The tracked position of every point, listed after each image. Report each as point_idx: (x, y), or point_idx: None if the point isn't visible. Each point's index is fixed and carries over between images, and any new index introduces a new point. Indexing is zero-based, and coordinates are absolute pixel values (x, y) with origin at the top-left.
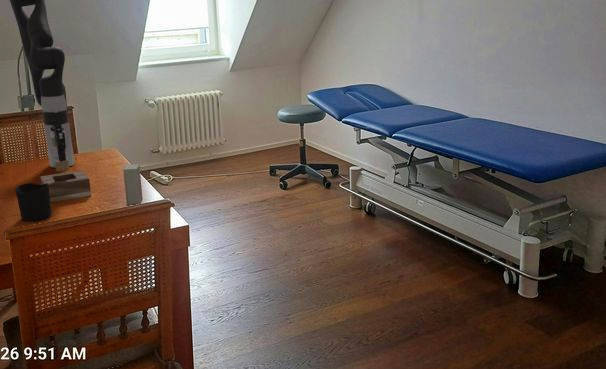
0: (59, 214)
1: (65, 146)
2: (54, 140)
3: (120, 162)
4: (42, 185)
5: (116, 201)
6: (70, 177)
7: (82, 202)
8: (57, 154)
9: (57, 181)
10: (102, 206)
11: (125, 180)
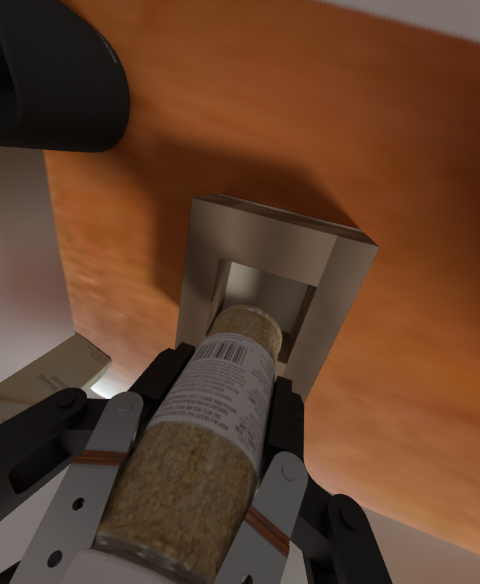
0: (81, 174)
1: (48, 444)
2: (58, 492)
3: (458, 539)
4: (6, 124)
5: (113, 334)
6: (291, 344)
7: (153, 276)
8: (183, 373)
9: (216, 266)
10: (93, 294)
11: (10, 377)
